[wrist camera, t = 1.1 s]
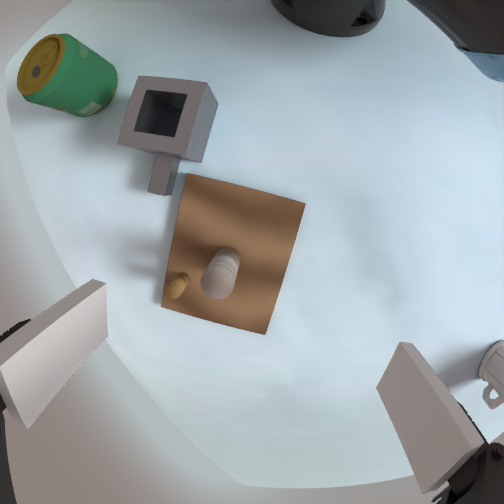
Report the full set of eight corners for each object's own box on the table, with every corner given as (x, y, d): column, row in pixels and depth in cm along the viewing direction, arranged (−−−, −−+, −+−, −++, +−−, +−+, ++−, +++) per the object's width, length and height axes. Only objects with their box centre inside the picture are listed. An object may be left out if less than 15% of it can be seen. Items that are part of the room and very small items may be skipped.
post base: (189, 173, 30) (162, 169, 21) (304, 203, 30) (321, 209, 21) (163, 303, 33) (136, 339, 24) (265, 330, 34) (266, 375, 25)
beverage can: (64, 96, 27) (7, 77, 16) (103, 54, 26) (53, 19, 14) (88, 130, 28) (25, 115, 17) (131, 84, 27) (79, 48, 15)
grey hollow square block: (161, 95, 28) (138, 75, 21) (218, 104, 28) (207, 82, 21) (137, 187, 30) (107, 188, 23) (192, 199, 30) (173, 203, 23)
